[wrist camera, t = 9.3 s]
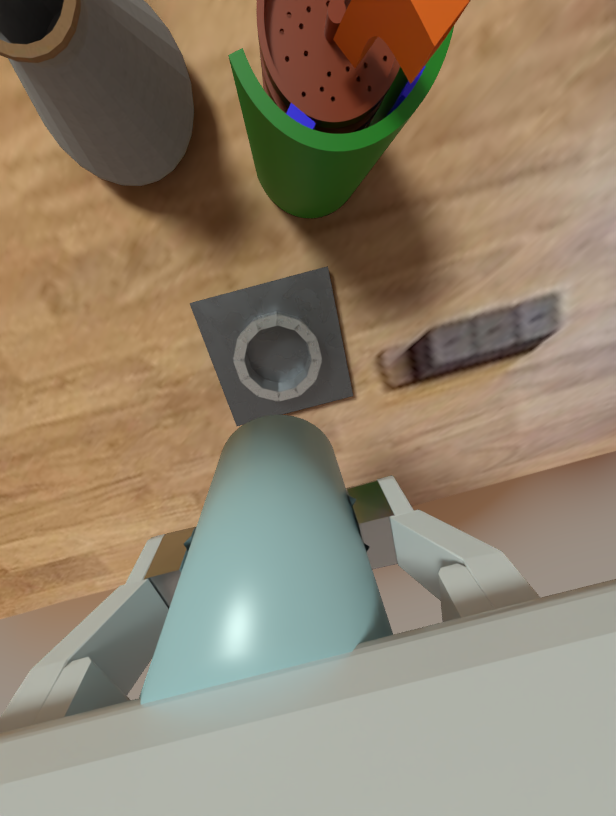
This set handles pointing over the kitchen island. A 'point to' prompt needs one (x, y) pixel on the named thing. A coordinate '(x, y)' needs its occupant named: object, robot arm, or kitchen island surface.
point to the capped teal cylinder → (268, 566)
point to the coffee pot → (103, 83)
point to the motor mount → (276, 345)
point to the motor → (336, 90)
